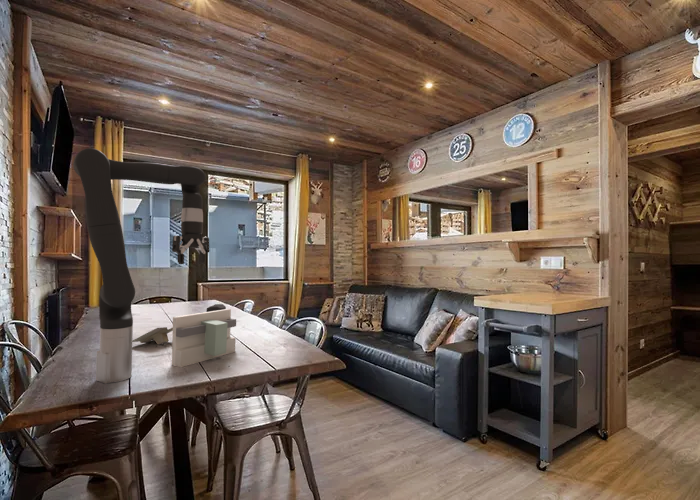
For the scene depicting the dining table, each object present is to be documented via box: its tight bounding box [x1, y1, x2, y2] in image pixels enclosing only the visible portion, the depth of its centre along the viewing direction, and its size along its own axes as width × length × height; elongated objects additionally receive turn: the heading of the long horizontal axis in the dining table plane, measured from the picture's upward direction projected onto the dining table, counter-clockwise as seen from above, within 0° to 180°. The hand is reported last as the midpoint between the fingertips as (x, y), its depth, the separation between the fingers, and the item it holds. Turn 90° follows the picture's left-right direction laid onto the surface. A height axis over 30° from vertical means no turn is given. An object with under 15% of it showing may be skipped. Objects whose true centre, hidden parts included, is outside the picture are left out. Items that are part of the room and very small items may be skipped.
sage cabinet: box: [201, 319, 228, 356], centre depth 145 cm, size 6×9×12 cm, turn 60°
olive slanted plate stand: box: [132, 326, 173, 345], centre depth 167 cm, size 16×9×15 cm
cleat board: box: [171, 308, 237, 368], centre depth 147 cm, size 26×6×18 cm, turn 150°
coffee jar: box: [206, 303, 227, 312], centre depth 169 cm, size 10×8×19 cm
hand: (191, 264), depth 137 cm, fingers open, 8 cm apart
